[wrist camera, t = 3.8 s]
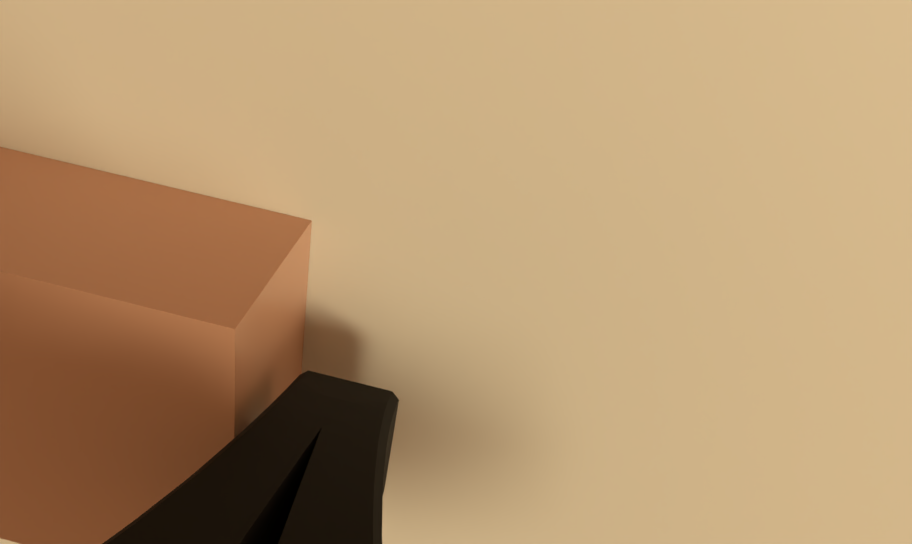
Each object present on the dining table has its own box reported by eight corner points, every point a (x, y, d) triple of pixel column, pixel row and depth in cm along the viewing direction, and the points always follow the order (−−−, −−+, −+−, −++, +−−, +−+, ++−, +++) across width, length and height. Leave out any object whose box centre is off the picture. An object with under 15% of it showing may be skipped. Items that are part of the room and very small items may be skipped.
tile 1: (294, 471, 13) (234, 601, 11) (19, 401, 14) (-91, 513, 11) (311, 220, 10) (235, 329, 8) (-34, 138, 11) (-192, 223, 9)
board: (739, 614, 18) (759, 752, 15) (-3, 424, 19) (-100, 522, 16) (1129, -25, 10) (1300, 40, 7) (-169, -278, 11) (-400, -297, 9)
